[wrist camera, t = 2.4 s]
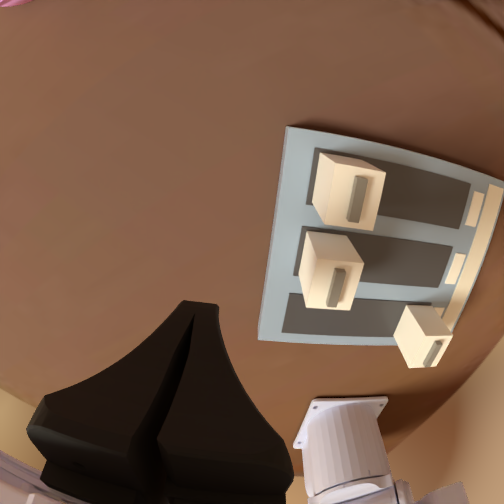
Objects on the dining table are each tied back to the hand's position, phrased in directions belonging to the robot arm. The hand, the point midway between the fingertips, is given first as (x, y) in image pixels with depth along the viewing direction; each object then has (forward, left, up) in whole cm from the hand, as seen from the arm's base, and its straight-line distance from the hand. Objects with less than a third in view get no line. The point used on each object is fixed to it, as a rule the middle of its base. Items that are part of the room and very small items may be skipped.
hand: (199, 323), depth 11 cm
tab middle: (0, -6, -7) cm, 9 cm away
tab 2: (-5, -14, -7) cm, 17 cm away
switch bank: (0, -11, -9) cm, 14 cm away
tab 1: (+5, -6, -7) cm, 11 cm away
